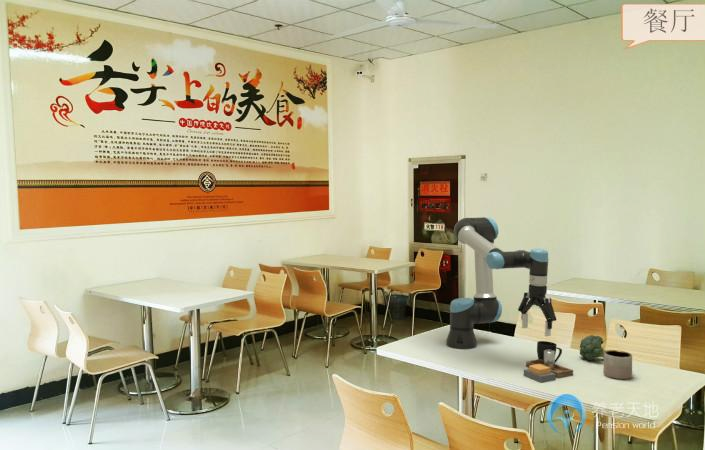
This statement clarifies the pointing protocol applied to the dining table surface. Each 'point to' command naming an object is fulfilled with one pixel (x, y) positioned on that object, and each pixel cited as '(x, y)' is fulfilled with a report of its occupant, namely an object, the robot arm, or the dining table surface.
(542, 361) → the wooden tray
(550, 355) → the cell
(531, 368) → the orange square block
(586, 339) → the vegetable
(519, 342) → the dining table surface
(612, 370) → the planter
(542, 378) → the frame
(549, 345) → the mug
